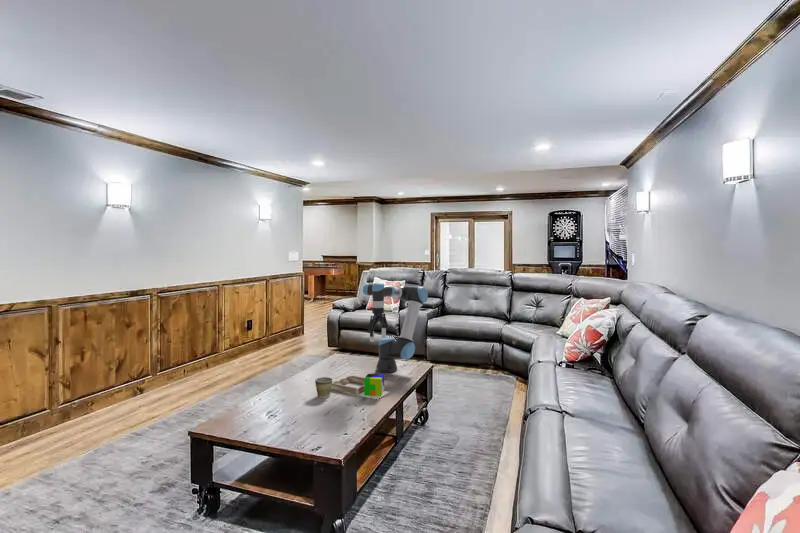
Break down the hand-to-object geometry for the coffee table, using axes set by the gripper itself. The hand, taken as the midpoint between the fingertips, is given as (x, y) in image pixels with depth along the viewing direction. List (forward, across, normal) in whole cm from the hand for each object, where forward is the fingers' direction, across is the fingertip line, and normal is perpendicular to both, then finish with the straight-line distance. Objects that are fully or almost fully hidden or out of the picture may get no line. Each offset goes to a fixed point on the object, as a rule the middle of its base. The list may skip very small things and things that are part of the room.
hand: (378, 339), depth 280 cm
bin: (+28, +16, -7) cm, 33 cm away
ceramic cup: (+28, +37, -13) cm, 49 cm away
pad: (+28, +20, +11) cm, 36 cm away
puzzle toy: (+28, +20, +11) cm, 36 cm away
